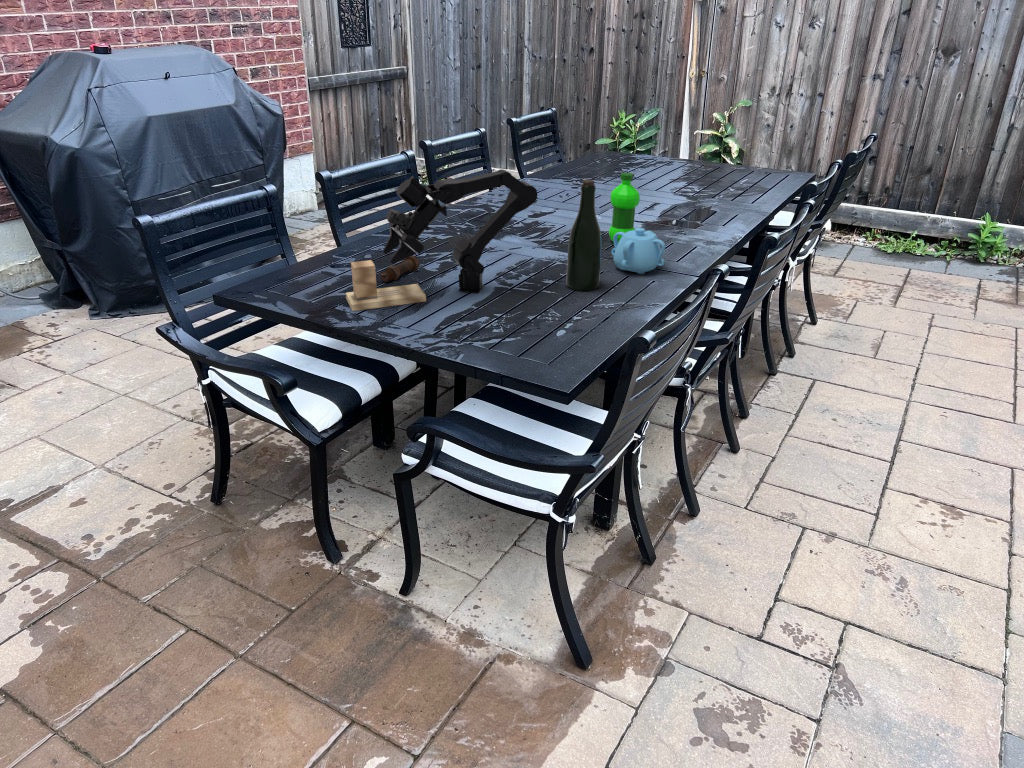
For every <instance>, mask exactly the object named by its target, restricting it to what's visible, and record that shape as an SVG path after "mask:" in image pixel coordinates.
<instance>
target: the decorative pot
mask: <svg viewBox="0 0 1024 768" xmlns="http://www.w3.org/2000/svg"><path fill="white" fill-rule="evenodd" d="M634 229H635V230H632V231H628V232H626V233H624V232H618V233H616V234H615V235H614V237H613V241H614V242H613V241H612V242H613V246H614V247H613V248H612V249H611V252H610V253H611V255H612V256H613V262H614V264H615V266H616V268H618V269H619V270H621V271H628V272H633V273H636V274H638V275H644V274H645V273H646V272H647V273H648V272H651V271H653V270H655V269H656V268H657V267H663V266H665V264H666V260H665V259H664V258H663V256H664V254H665V250H666V243H665V241H664V240H661V239H659V238H658V236H657V234H656V233H654V232H653V231H652V230H646V229H645V228H643V227H636V228H634ZM618 235H622V237H621V239H620V241H619V243H618V240H617V237H618Z"/></svg>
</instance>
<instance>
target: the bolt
mask: <svg viewBox="0 0 1024 768" xmlns="http://www.w3.org/2000/svg"><path fill="white" fill-rule="evenodd" d="M419 267H420V262H419V260H418V258H417V256H416V255H412V256H410V257H407V258H405V259H403V261H402V262H400V263H398V264H397V265H394V264H391V265H388V266H387V267H386V269H385V271H382V273H381V274H380V279H381V280H382V281H383V282H385V283H386V282H387V283H388V282H390V281H391V280H392V281H397V280H399V278H400V276H401V275H403V274H404V273H407V272H409V271H410V272H416V271H418V270H419Z"/></svg>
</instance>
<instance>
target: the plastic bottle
mask: <svg viewBox="0 0 1024 768" xmlns="http://www.w3.org/2000/svg"><path fill="white" fill-rule="evenodd" d="M633 178H634V174H633V173H631V172H630V173H629V172H622V173H621V174H620V180H621V184H619V185H617V186H616V187H615V188H614V189H613V190H611V193H610V196H609V197H610V203H611V205H612V206H613V207H612V218H611V219H612V220H611V222H612V223H611V225H610V226H609V228H608V236H609V238H610V240H611V242H613V243H614V241H613V237H614V235H615V234H616V233H618V232H624V233H626V232H628V231H632V230H635V229H636V228H635V227H634V225H635V224H634V223H635V213H636V207H638V205H639V203H640V200H641V199H640V198H641V196H640V193H639V191H638V190H637V189H636V188H635V186H634V185H632V181H633ZM621 237H622V235H618V237H617V240H618V243H619V241H620V239H621Z"/></svg>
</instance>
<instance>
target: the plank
mask: <svg viewBox="0 0 1024 768" xmlns="http://www.w3.org/2000/svg"><path fill="white" fill-rule="evenodd" d="M377 297H378V298H374V299H366V300H358V301H357V299H356V297H355V296H354V291H348V292H345V299H346V301H347V303H348V305H349V307H350V309H351V312H356V311H357V312H358V311H364V310H371V309H378V308H379V309H380V308H386V307H387V308H388V307H394V306H395V307H396V306H400V305H401V306H402V305H408V304H417V303H423V302H427V296H426V293H425V292H424V291H423V290H422V288H421V287H420V285H419V284H418V283H411V284H405V285H398V286H397V285H396V286H389V287H381V288H377Z"/></svg>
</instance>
